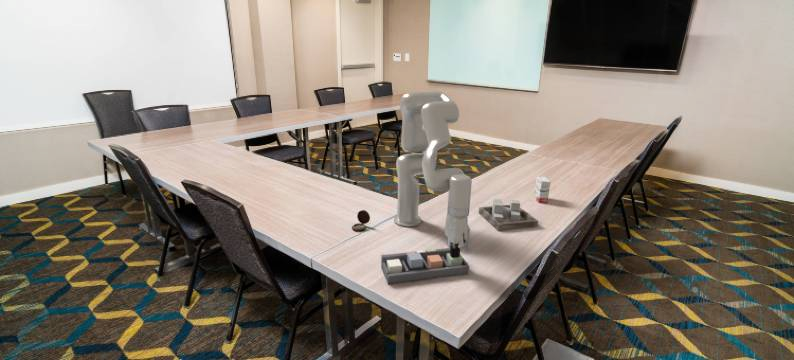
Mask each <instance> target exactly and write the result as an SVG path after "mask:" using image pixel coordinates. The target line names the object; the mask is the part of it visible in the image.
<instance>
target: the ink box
mask: <svg viewBox="0 0 794 360" xmlns="http://www.w3.org/2000/svg"><path fill="white" fill-rule="evenodd" d="M551 183H552V182H551V181H550V179H548V178H547V177H546V176H536V180H535V187H534V191H533V193H534V194H533V198H534V200H536V201H537V203H539V204H540V203H541V204H548V201H549V194H550V187H551Z"/></svg>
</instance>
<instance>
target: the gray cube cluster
mask: <svg viewBox="0 0 794 360" xmlns="http://www.w3.org/2000/svg"><path fill="white" fill-rule="evenodd" d="M503 205H504V203H503V199H502V198H492V206H493V207H492V213H491V215H492V216H493V217H494V218H495V219H496V220H497V221H498V222H500V223H504V218H505V219H509V220H510V222H515V221H521V217H520V213H519V209H520V208H521V203H520V200H518V199H517V200H516V199H515V200H514V199H510V203H509V205H510V209H509V208H506V207H503Z"/></svg>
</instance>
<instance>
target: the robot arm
mask: <svg viewBox="0 0 794 360" xmlns="http://www.w3.org/2000/svg"><path fill="white" fill-rule="evenodd" d="M399 109H400V113H401V118H402V123H401V124H402V125H401V136H400V137H401V138H400V139H401V140H400V141H401V143H400V144H401V145H400V146H401V149H402V150H403V151H404V152H406V154H401V155H400V156H398V157H397V159H396V161H395V162H396V163H395V166H396V173H397V210H396V211H397V212H396V213H397V214H396V215H394V216H393V223H395V224H396V225H398V226H400V227H408V228H409V227H415V226H418V225H420V224H421V223H422V218H421V216H419V202H420V201H419V200H420V183H419V181H418V180H417V179H416V178H415V177H416V176H419V175H423V178H424V182H425V185H426V188H427V189H429V190H430V191H432V192H441V191H447V190H448V196H447V208H446V209H447V212H446V218H445V225H444V234H445V236H446V237H447V239H448V238H449V239H450V245H452V246H450V247H449V248H450V256H451V257H452V258H453V257H459V256H460V254H461V249H463V248H464V247H463V242H464V243H466V241H467V233H468V226H469V223H468V222H469V220H468V217H469V216H470V207H471V196H472V194H471V193H472V183H473V182H472V178H471V177H470V176H469V175H466V173H464V171H463V170H462V169H460V168H458V167H451V168H450V167H449V168H441V169H436V166H437V158H438V151H439V150H441V149H443V148H444V147H446V146H448V145H449V144H450V143H451V141H452V136H451V133H450V129H449V126H448V124H454V123H457V122H458V121H459V118H460V110H459V107H458V105H457V103H456V102H455V101H454V100H453V99H452V98H451V97H449V96H448V95H446V94H445V93H443V92H440V91H415V92H413V91H412V92H407V93H405V94H403V95H402V97H401V98H400V103H399ZM417 152H418V153H417Z"/></svg>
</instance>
